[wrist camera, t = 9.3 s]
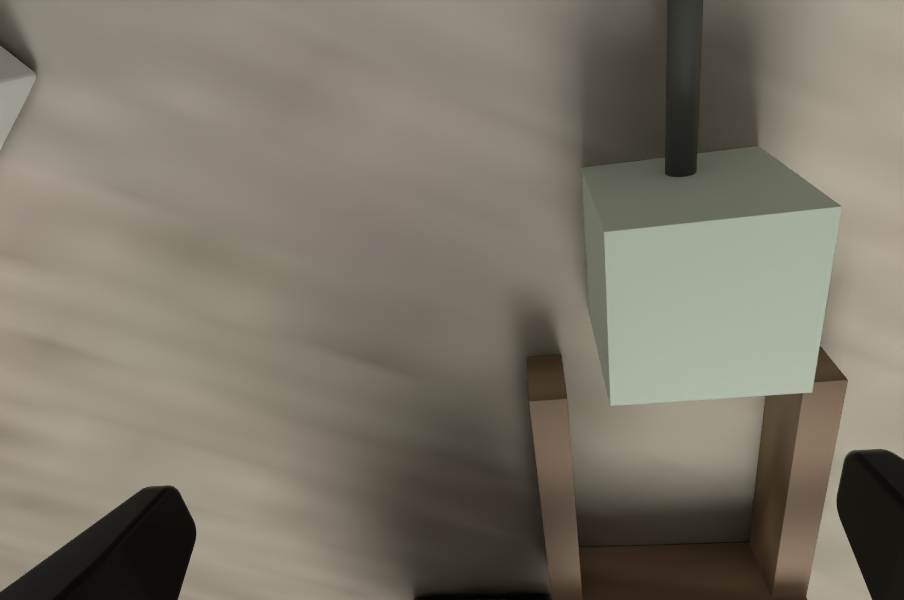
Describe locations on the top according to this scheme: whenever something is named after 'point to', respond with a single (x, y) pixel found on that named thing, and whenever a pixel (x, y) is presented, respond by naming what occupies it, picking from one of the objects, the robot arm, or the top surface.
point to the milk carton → (12, 90)
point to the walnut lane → (696, 565)
